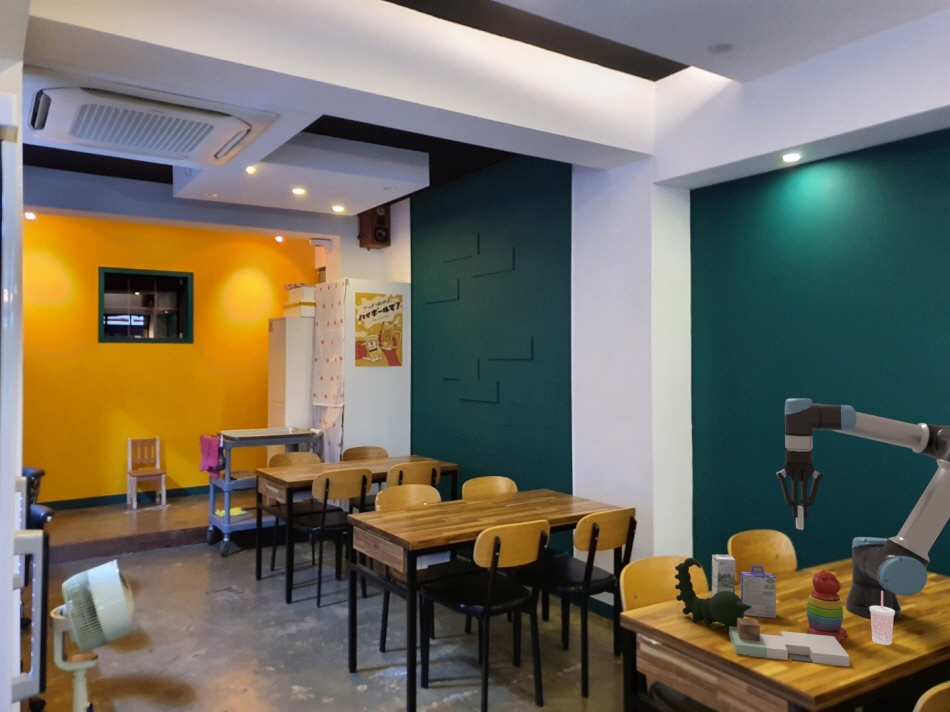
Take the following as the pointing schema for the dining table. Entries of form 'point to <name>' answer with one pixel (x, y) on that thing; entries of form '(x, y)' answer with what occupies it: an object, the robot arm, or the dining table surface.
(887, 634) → the beverage cup
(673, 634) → the dining table surface
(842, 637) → the stacking bear
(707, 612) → the toy figurine
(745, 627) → the walnut block
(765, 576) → the ink cartridge box
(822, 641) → the trap deck
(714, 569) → the syrup box
